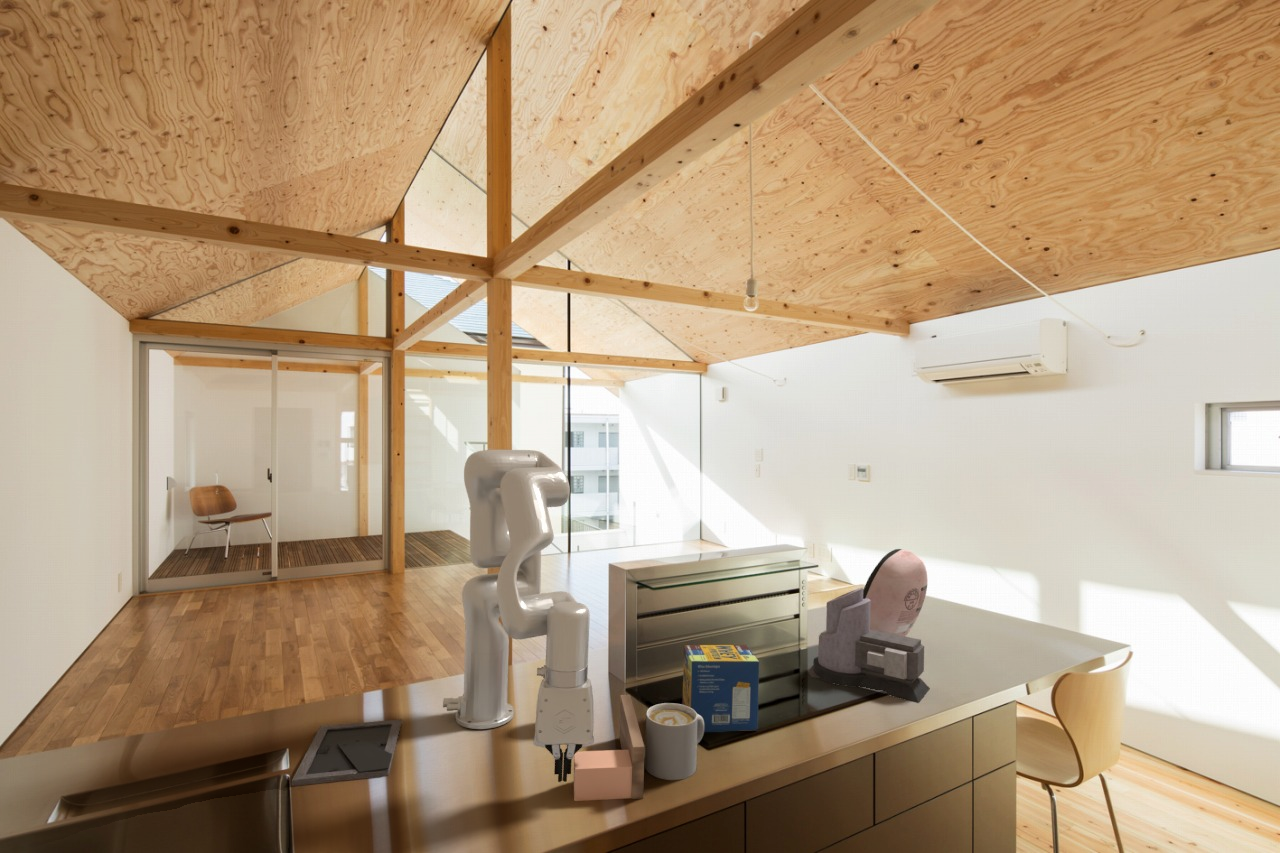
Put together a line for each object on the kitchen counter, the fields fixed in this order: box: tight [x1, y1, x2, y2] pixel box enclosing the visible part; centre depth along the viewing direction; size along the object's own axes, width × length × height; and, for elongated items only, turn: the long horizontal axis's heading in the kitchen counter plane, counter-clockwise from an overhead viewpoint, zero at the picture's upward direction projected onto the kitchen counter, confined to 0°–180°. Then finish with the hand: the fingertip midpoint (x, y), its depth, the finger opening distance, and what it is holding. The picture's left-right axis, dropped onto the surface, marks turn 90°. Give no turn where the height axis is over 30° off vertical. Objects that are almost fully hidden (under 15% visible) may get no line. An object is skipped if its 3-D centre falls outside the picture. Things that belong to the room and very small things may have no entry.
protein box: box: [682, 644, 760, 733], centre depth 139 cm, size 10×15×16 cm
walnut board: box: [619, 694, 645, 800], centre depth 120 cm, size 2×22×9 cm, turn 7°
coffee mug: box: [644, 702, 705, 781], centre depth 121 cm, size 13×10×10 cm
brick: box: [573, 749, 632, 802], centre depth 111 cm, size 10×6×6 cm, turn 97°
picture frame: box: [291, 718, 403, 787], centre depth 122 cm, size 16×2×21 cm
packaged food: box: [863, 548, 928, 637], centre depth 199 cm, size 22×20×30 cm
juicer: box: [807, 587, 931, 704], centre depth 166 cm, size 30×16×24 cm, turn 52°
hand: (562, 777), depth 110 cm, fingers closed
